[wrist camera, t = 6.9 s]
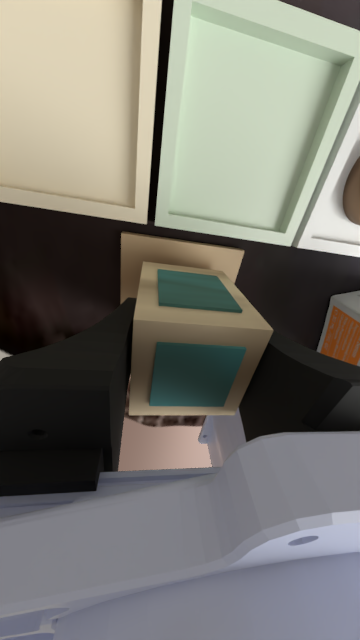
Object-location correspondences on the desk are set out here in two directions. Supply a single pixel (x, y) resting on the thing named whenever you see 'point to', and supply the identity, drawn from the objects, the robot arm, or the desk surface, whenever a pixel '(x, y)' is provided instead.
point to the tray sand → (78, 104)
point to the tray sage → (250, 115)
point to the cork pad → (172, 258)
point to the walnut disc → (352, 194)
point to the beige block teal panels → (192, 342)
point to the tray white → (334, 194)
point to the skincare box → (342, 329)
